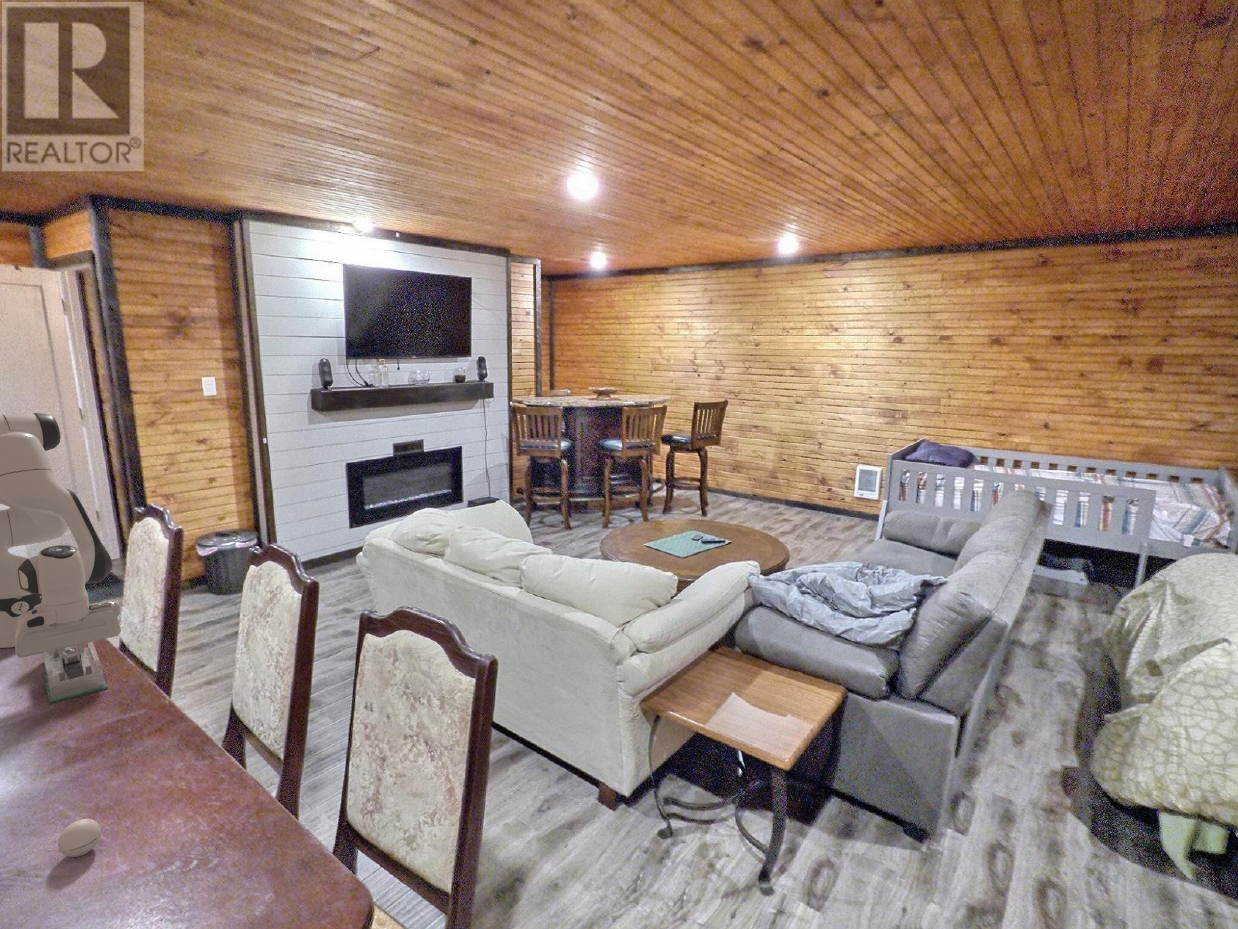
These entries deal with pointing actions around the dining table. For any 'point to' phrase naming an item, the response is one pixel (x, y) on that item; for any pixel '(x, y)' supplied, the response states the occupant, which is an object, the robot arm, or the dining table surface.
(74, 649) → the strap
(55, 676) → the fuse holder
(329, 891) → the dining table surface
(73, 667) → the strap
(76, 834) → the beige oval egg shape
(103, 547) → the robot arm
